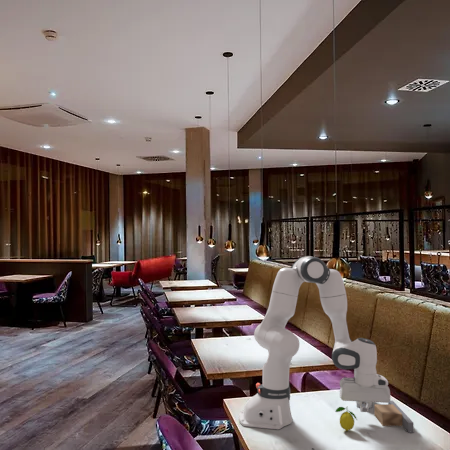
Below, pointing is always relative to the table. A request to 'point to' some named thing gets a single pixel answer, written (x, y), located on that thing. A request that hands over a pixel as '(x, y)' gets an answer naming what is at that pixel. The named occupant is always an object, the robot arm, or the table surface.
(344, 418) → the lemon
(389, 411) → the walnut block
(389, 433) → the table surface
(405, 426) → the board
